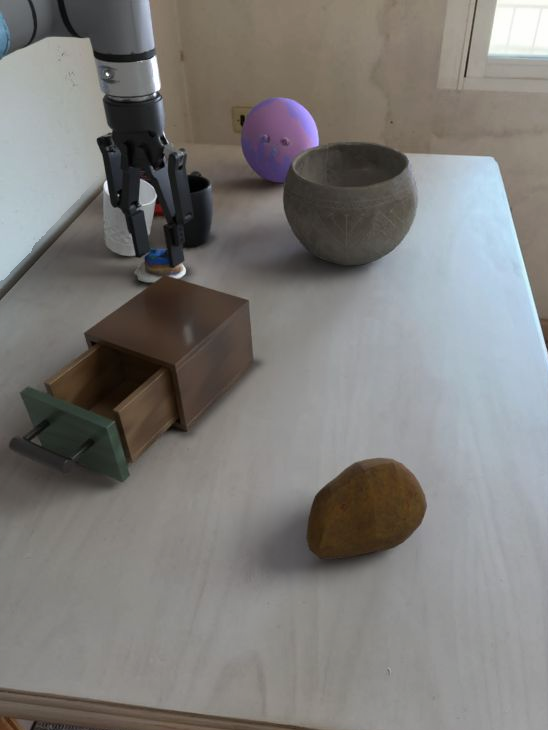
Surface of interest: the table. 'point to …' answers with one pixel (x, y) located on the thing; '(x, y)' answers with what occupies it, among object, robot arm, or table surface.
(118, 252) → the white cup
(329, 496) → the potato
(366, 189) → the bowl
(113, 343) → the cabinet
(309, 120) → the decorative ball
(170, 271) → the dessert
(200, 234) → the mug
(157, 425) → the drawer
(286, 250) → the table surface
